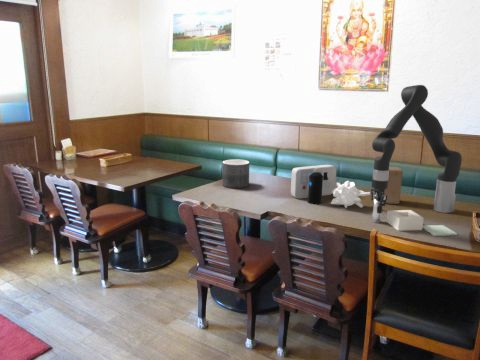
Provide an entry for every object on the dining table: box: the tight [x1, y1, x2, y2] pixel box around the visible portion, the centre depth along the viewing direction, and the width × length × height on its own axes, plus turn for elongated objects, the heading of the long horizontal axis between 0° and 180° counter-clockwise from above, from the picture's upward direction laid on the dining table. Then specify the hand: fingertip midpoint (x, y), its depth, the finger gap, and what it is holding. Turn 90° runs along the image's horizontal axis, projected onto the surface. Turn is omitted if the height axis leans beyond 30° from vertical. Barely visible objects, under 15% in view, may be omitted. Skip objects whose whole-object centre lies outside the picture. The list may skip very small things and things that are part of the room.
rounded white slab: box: [290, 164, 337, 199], centre depth 244 cm, size 29×8×18 cm, turn 113°
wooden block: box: [383, 166, 404, 205], centre depth 233 cm, size 10×10×20 cm
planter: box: [221, 158, 250, 189], centre depth 267 cm, size 18×18×16 cm
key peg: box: [371, 194, 382, 224], centre depth 201 cm, size 4×4×14 cm
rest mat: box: [422, 224, 458, 237], centre depth 190 cm, size 11×11×1 cm
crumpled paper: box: [330, 180, 371, 209], centre depth 224 cm, size 20×17×15 cm
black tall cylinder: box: [307, 168, 323, 205], centre depth 231 cm, size 8×8×20 cm
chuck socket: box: [386, 209, 424, 232], centre depth 196 cm, size 12×12×6 cm
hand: (377, 211), depth 201 cm, fingers closed on key peg, 4 cm apart
